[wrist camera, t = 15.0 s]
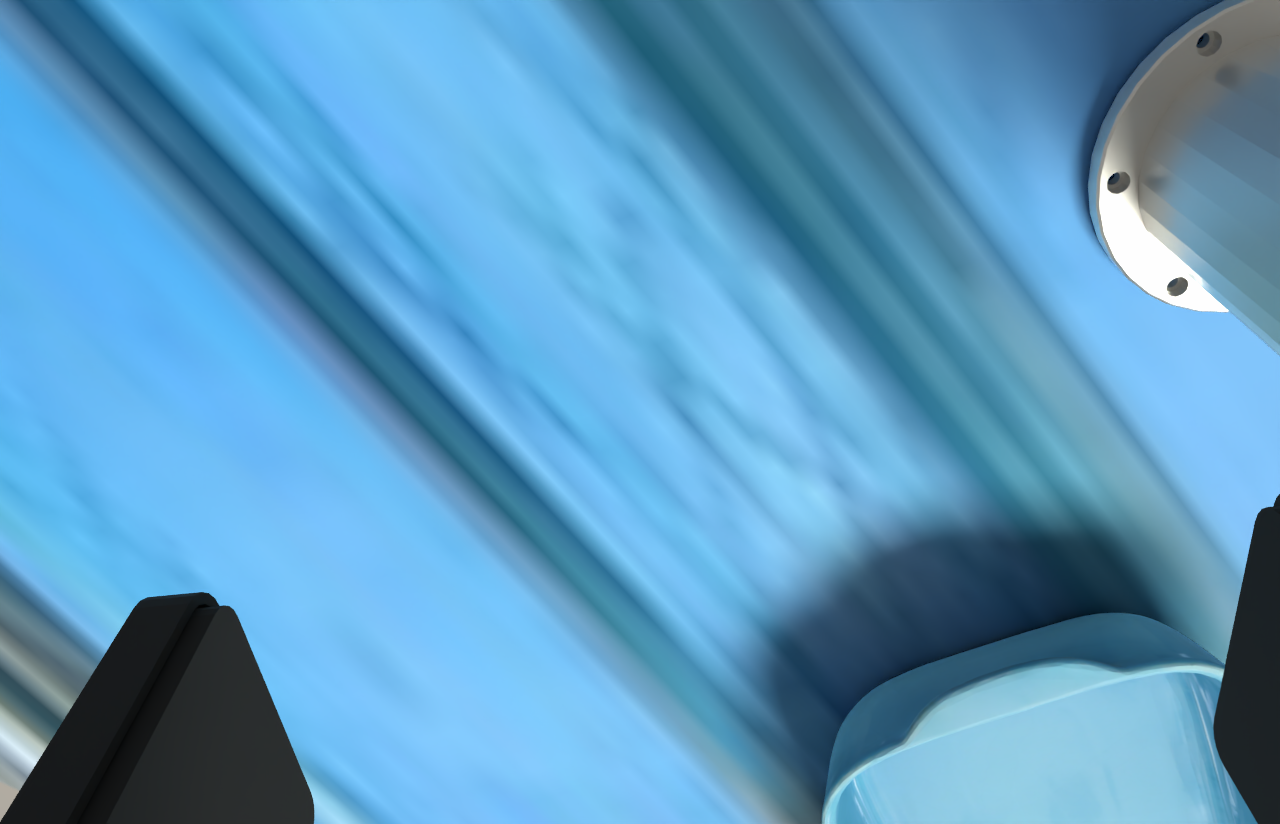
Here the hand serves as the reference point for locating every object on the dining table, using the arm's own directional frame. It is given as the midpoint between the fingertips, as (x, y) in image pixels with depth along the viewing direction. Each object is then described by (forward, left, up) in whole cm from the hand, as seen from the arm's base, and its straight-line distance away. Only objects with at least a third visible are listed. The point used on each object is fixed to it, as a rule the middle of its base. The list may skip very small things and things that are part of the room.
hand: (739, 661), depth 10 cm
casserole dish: (-16, +46, -33) cm, 59 cm away
